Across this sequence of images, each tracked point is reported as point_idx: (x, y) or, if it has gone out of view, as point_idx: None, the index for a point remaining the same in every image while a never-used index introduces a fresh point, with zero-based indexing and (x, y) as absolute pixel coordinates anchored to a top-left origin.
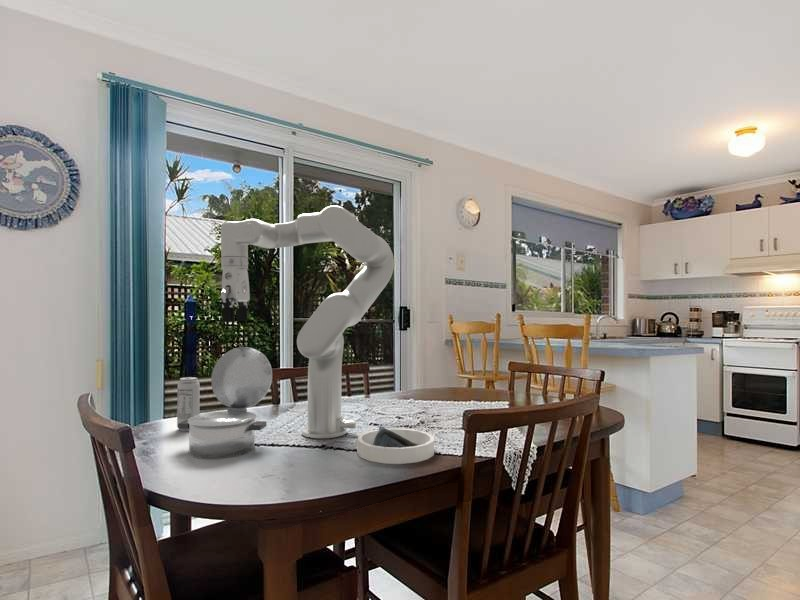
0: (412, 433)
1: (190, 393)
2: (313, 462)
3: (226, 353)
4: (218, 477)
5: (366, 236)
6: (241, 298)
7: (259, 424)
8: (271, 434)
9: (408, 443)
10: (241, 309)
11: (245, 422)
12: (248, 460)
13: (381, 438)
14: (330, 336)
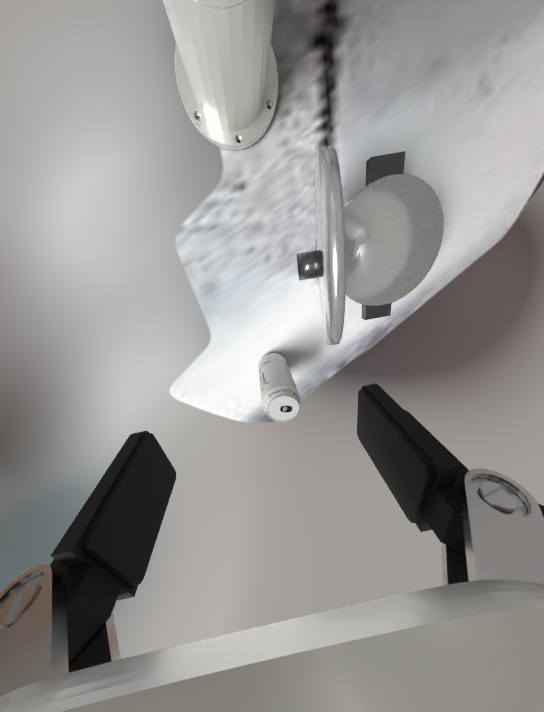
0: None
1: (291, 381)
2: (426, 13)
3: (341, 329)
4: (477, 174)
5: None
6: (469, 696)
7: (396, 158)
8: (266, 217)
9: None
10: (122, 552)
11: (417, 179)
12: (409, 171)
13: None
14: None
